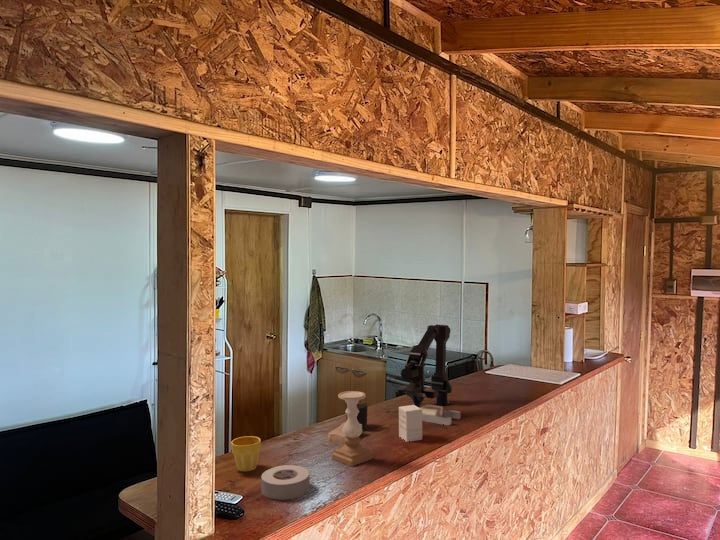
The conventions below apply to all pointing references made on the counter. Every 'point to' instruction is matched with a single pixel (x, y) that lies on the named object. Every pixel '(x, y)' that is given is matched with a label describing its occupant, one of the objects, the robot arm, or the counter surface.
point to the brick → (337, 436)
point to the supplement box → (410, 423)
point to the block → (432, 410)
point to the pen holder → (361, 415)
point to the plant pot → (246, 452)
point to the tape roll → (285, 482)
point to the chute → (442, 417)
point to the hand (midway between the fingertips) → (417, 410)
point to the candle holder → (352, 433)
